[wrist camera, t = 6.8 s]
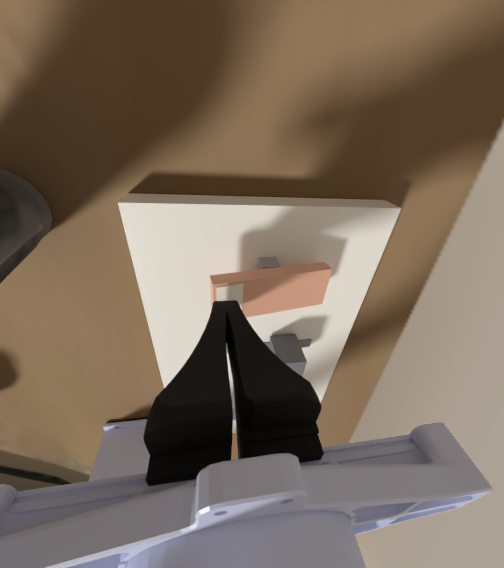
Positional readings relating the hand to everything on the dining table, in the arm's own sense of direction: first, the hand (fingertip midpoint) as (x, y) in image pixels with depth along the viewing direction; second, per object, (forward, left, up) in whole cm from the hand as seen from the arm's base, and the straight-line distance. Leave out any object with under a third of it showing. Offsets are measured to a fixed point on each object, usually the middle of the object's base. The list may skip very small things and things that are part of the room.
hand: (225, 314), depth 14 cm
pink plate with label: (+3, 0, -2) cm, 4 cm away
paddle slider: (+5, -8, -4) cm, 10 cm away
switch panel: (+3, -8, -6) cm, 11 cm away
